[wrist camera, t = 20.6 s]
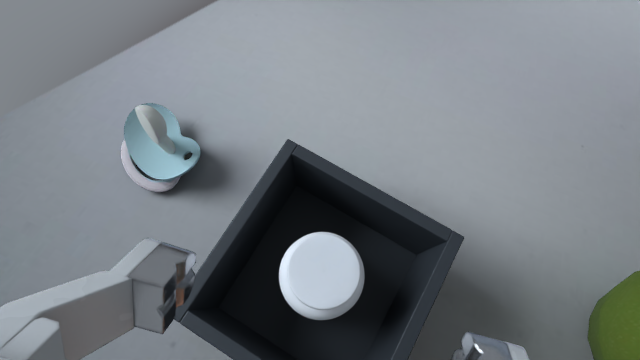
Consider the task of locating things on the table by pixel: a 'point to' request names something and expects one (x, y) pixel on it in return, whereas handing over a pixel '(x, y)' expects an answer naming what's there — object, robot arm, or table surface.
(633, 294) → the apple
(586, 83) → the table surface
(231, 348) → the bin
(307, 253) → the pill bottle
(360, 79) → the table surface
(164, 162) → the pacifier
